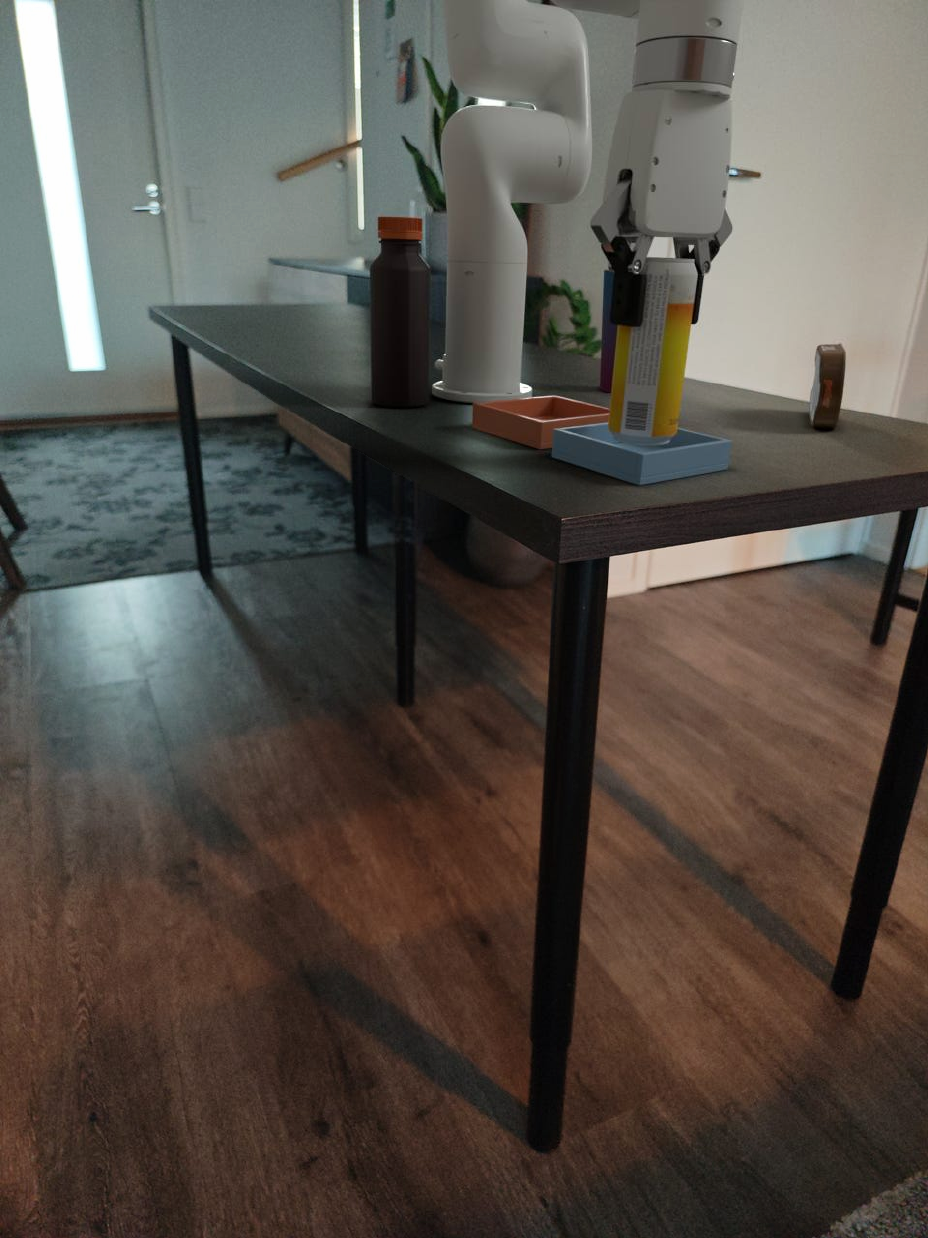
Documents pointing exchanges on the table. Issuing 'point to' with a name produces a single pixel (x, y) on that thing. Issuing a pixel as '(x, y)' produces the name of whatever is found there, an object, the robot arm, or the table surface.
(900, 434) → the table surface
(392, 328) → the bottle
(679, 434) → the blue tray
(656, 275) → the beer can
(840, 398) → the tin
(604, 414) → the terracotta tray
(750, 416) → the table surface
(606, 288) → the cup
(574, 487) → the table surface
